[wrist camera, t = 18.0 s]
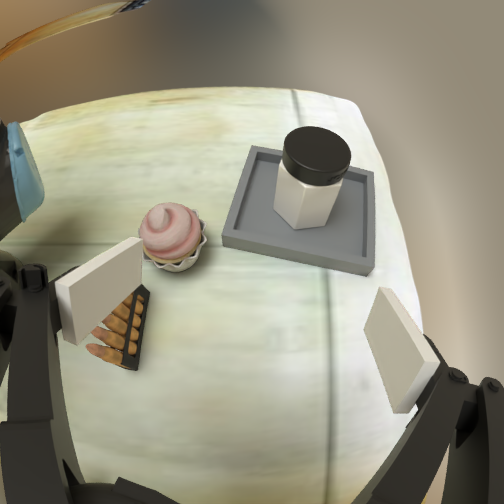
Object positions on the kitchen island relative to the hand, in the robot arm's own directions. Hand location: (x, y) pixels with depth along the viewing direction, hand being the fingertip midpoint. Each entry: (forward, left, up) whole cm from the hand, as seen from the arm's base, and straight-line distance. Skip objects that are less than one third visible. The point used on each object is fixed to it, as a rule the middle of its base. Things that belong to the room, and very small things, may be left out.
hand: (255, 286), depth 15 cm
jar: (+3, +21, -21) cm, 30 cm away
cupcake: (-12, +10, -22) cm, 27 cm away
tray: (+4, +21, -22) cm, 31 cm away
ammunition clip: (-14, -2, -22) cm, 26 cm away
